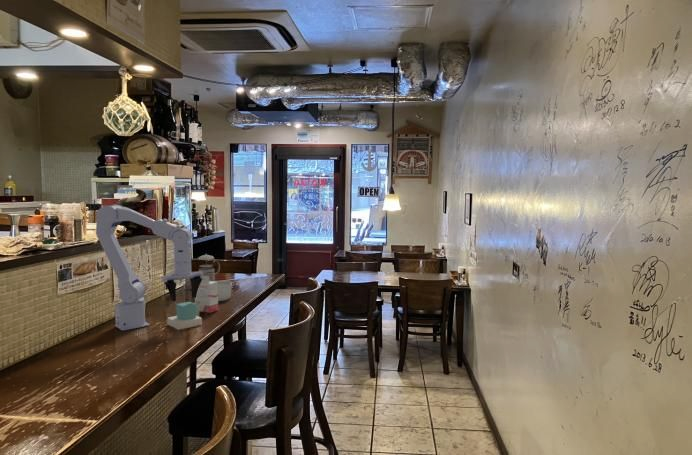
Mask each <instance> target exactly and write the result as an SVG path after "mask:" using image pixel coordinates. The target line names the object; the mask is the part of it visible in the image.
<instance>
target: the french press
mask: <svg viewBox="0 0 692 455" xmlns="http://www.w3.org/2000/svg"><path fill="white" fill-rule="evenodd" d="M203 239H205V240H207V239H208V236H207V235H204V237H203ZM197 259H198V260H199V261H205V264H201V265H199V266H198V267H199V268H198V271H202V272H203V276H209V281H216V275H217V274H218V273H219V272H220V271H221V265H220V262H219V261H217V260H216V259H215V257H214V256H213V255H209V254H203V255H201V256H199V257H198V258H197ZM211 260H213V261H212V262H213V263H215V262H217V264H218V269H217V272H215V268H214V264H207V262H208V261H211ZM202 280H205V279H203V278H202Z"/></svg>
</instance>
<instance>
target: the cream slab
mask: <svg viewBox="0 0 692 455" xmlns="http://www.w3.org/2000/svg"><path fill="white" fill-rule="evenodd" d="M167 325H168V326H170V327H171V328H173V327H174V329H175V330H178V331H179V330H183V329H184V328H185V329H189V328H193V327H198V325H199V326H202V325H203V317H201V316H200V315H199V316H196V318H192V319H187V320H181V319H179V318H177V315H174V316H168V317H167Z"/></svg>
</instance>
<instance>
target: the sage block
mask: <svg viewBox="0 0 692 455" xmlns="http://www.w3.org/2000/svg"><path fill="white" fill-rule="evenodd" d="M193 303H194V304H196V303H195V302H193ZM196 316H199V317H200V311H199V304H196Z"/></svg>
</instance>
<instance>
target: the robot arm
mask: <svg viewBox="0 0 692 455" xmlns="http://www.w3.org/2000/svg"><path fill="white" fill-rule="evenodd" d="M95 220H96V227H95V235H96V238H97V239H98V242H99V243H100V245H101V247H102V249H103V251H104V253H105V255H106V257H107V260H108V262H109V264H110V266H111V268H112V269H113V272H114V273H115V275H116V278H117V287H118V290H119V298H120V299H121V301H122V302H120V303H117V304H116V305H115V307H114V317H115V325H114V327H115V328H117V329H119V330H120V331H127V330H134V329H137V328H138V329H139V328H142V327H143V328H144V327H148V326H150V323H148V322H147V321H146V311H145V310H146V308H145V297H144V295H145V294H146V292H147V287H146V284H145V283H144V282H143V281H142V280H140V278H139V276H138V275H137V274H135V273H134V271H133V270H132V267H131V265H130V264H129V262H128V260H127V258H126V255H125V252H124V251H123V249H122V247H121V245H120V244H119V241H118V239H117V237H116V235H115V232H116V230H117V228H118V226H119V225H120V224H121V223H122V222H127V221H128V222H129V221H130V222H132V223H135V224H138V225H140V226H142V227H145V228H148V229H151V231H152V233H153V234H154V235H156V236H159V237H161V238H164V239H165V240H169V241H172V243H173V247H174V249H173V256H174V258H173V259H174V260H173V261H174V263H173V264H174V273H170V274H167V275H162V276H161V281H162V283H164V285H165V287H166V289H167V290H168V293H169V296H170V299H171V301H172V302H176V301H177V294H176V291H177V282H175V281H182V280H188V279H189V282H190V287H191V288H190V289H191V298H193V299H195V298H196V295H197V291H198V288H199V285H200V283H201V282H202V278H200V277H203V275H204V274H203V272H202V271H199V270H198V271H192V250H191V249H192V248H191V240H192V238H193V233H192V231H191V230H190V229H188V228H187V227H181V225H180V224H177V225H176V224H174V223H171V222H168V219H167V218H163V219H162V218H159V219H156V220H155V219H153V218H151V217H148V216H147V215H144V214H142V213H140V212H138V211H136V210H133V209H131V208H130V207H126V206H122V205H121V204H113V205H103V206H101V207H100V208H99V209H98V211H97V212H96V215H95Z"/></svg>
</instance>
